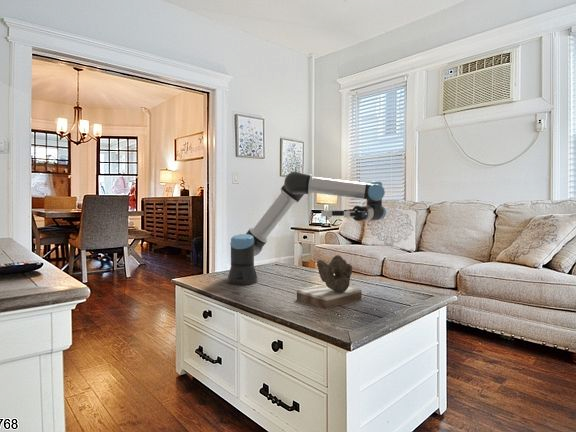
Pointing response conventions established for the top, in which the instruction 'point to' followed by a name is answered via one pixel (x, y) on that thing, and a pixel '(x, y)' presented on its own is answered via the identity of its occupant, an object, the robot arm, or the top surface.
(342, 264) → the decorative stone
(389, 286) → the top surface
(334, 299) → the block
